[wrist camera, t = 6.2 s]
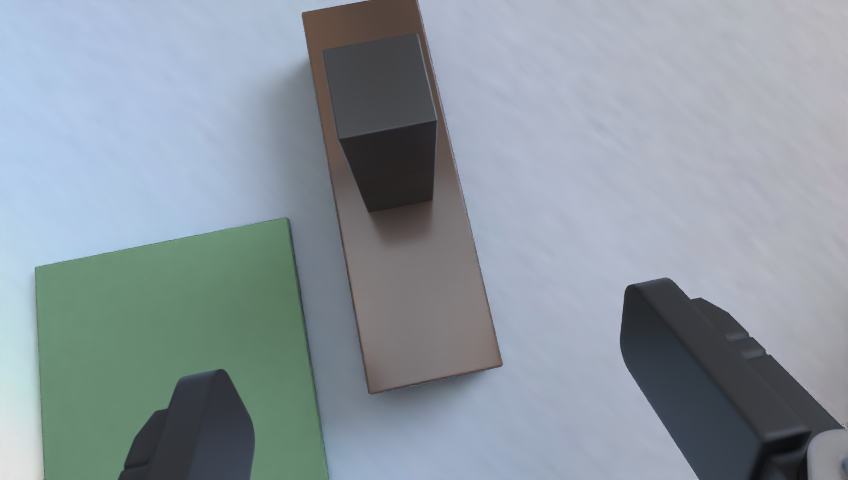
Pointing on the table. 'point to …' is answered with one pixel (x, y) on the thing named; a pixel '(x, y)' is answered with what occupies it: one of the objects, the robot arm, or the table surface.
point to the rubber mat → (176, 348)
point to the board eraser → (398, 197)
